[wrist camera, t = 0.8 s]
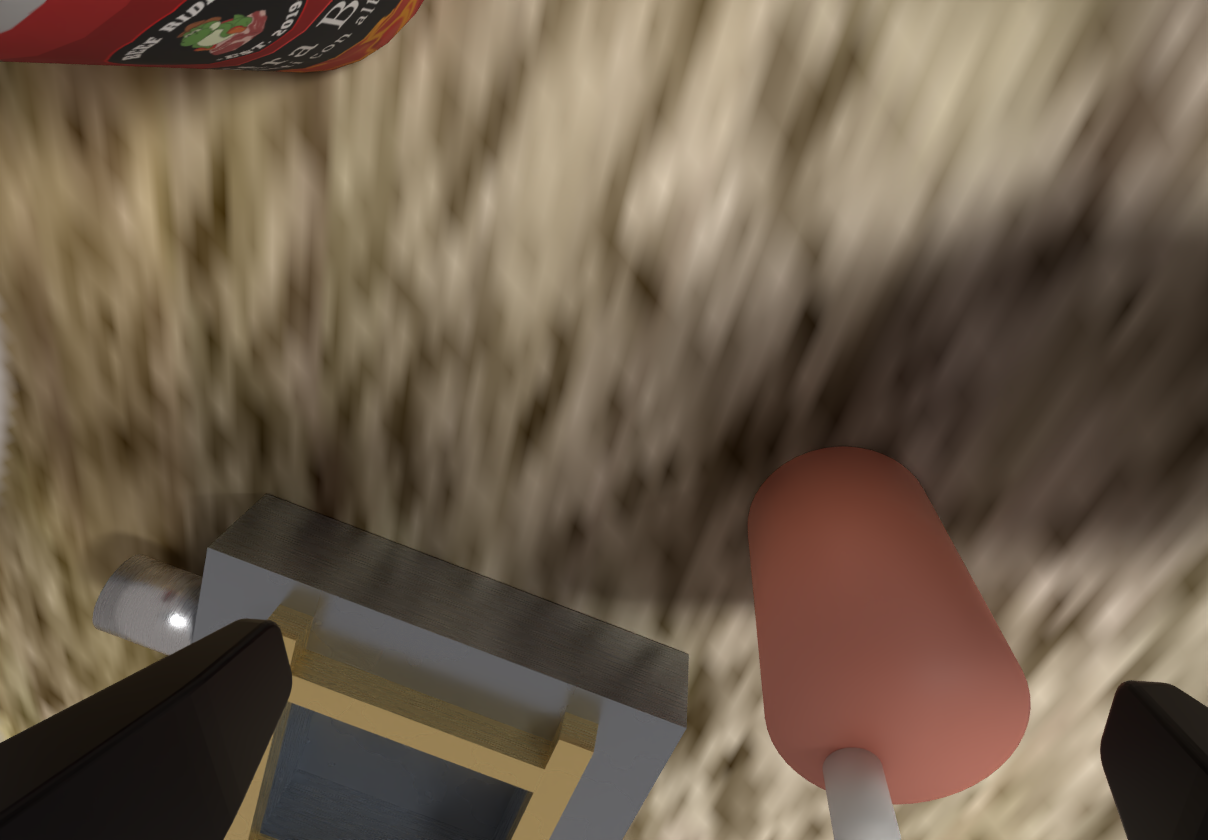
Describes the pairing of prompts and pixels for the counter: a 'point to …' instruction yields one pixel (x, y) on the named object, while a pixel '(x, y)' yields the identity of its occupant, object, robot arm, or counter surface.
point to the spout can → (875, 641)
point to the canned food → (201, 32)
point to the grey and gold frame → (417, 688)
